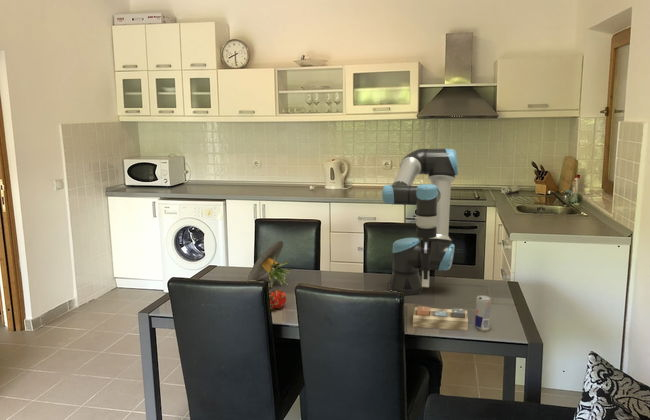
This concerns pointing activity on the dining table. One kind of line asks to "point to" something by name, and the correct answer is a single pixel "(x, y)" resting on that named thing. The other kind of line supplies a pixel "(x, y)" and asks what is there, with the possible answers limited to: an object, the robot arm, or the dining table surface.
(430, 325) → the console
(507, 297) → the dining table surface
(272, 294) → the dragon fruit
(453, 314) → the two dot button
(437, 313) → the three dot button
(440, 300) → the dining table surface
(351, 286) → the dining table surface
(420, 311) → the one dot button
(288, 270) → the grey yellow green piece
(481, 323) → the energy drink
